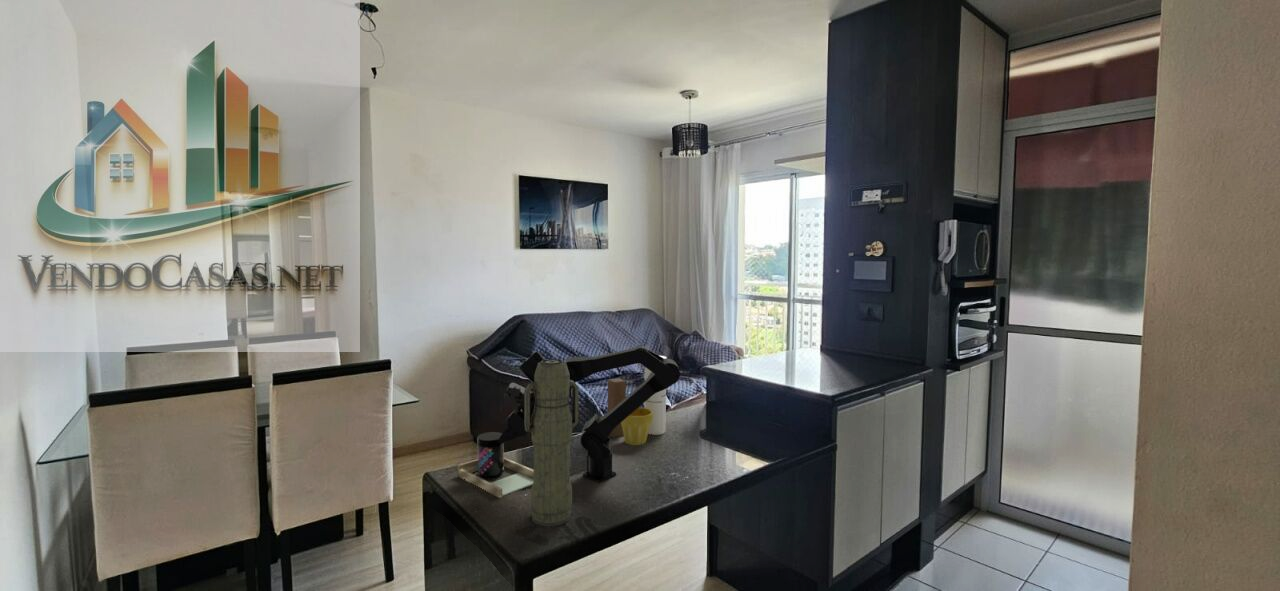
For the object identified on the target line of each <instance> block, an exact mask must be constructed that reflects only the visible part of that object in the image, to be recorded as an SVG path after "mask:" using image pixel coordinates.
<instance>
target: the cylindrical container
mask: <svg viewBox="0 0 1280 591" xmlns="http://www.w3.org/2000/svg"><path fill="white" fill-rule="evenodd" d="M658 355H659V354H658ZM659 356H661V357H662V358H664V359H668V358H667V356H665V355H659ZM650 373H651V371H650V370H649V369H647V368H646V367H645V366H644V381H645V380H646V379H647V378H648V376H649V375H650ZM666 402H667V388H666V389H664V390H662V391H660V392H657V393H655V394H654V395H653V396H651V397H650V398H649V399H648V400H647V401H646V402H644V403H643V405H644V406H643V408H647V409H650V410H651V411H652V413H653V414H652V423H651V424H650V426H649V431H648V435H651V434H652V436H654V435H655V436H659V435H663V434H665V433H666V414H667V411H666V409H667V403H666Z"/></svg>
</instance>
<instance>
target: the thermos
mask: <svg viewBox="0 0 1280 591" xmlns="http://www.w3.org/2000/svg"><path fill="white" fill-rule="evenodd" d="M564 361H565V360H564ZM564 361H563V359H558V358H551V359H546V360H542V361H541V362H539V363H538V365H537V368H536V371H535V375H534V382H531V383H528V384H527V385H526V387H524V388H525V390H524V423H525V431H526V432H529V433H530V434H531V442H532V445H533V470H534V482H533V485H531V489H530V501H531V502H530V507H531V519H532V522H533V523H534V524H536V525H538V526H541V527H555V526H560V525H563V524H565V523H567V522H568V521H569V520H571V518H572V505H573V486H572V483H571V480H570V479H571V476H570V475H571V474H570V471H571V470H570V469H571V461H570V460H571V456H570V455H571V454H570V453H571V450H570V449H571V443H572V442H571V441H572V440H573V430H574V428H575V427H576V426H577V425H578V424H579V401H580V400H579V399H580V398H579V390H580V389H579V386H578V384H577V382H574V381H573V380H570V374H569V371H568V368H567V365H566V362H564ZM570 385H572V395H571V398H572V399H571V401H572V403H571V406H572V407H571V408H570V401H569V398H570V397H569V392H570ZM532 390H534V397H535V403H534V411H533V414H532V424H530V391H531V392H532Z"/></svg>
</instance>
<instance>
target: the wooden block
mask: <svg viewBox="0 0 1280 591" xmlns="http://www.w3.org/2000/svg"><path fill="white" fill-rule="evenodd" d="M626 397H627V381H626V380H625V379H622V378H618V377H617V378H612V379H611V378H610V379H608V381H607V409H606V414H607V413H608V412H609V411H611V410H612V409H613V408H614V407H615V406H616V405H618V404H619V403H620V402H621V401H622V400H623V399H625V398H626ZM619 436H624V434H623V429H622V424H621V423H620V424H619V425H617V426H616V427H615V428H614V430H613V431H612V432H611V434H610V435H609V438H610V439H611V438H615V437H619Z"/></svg>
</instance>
